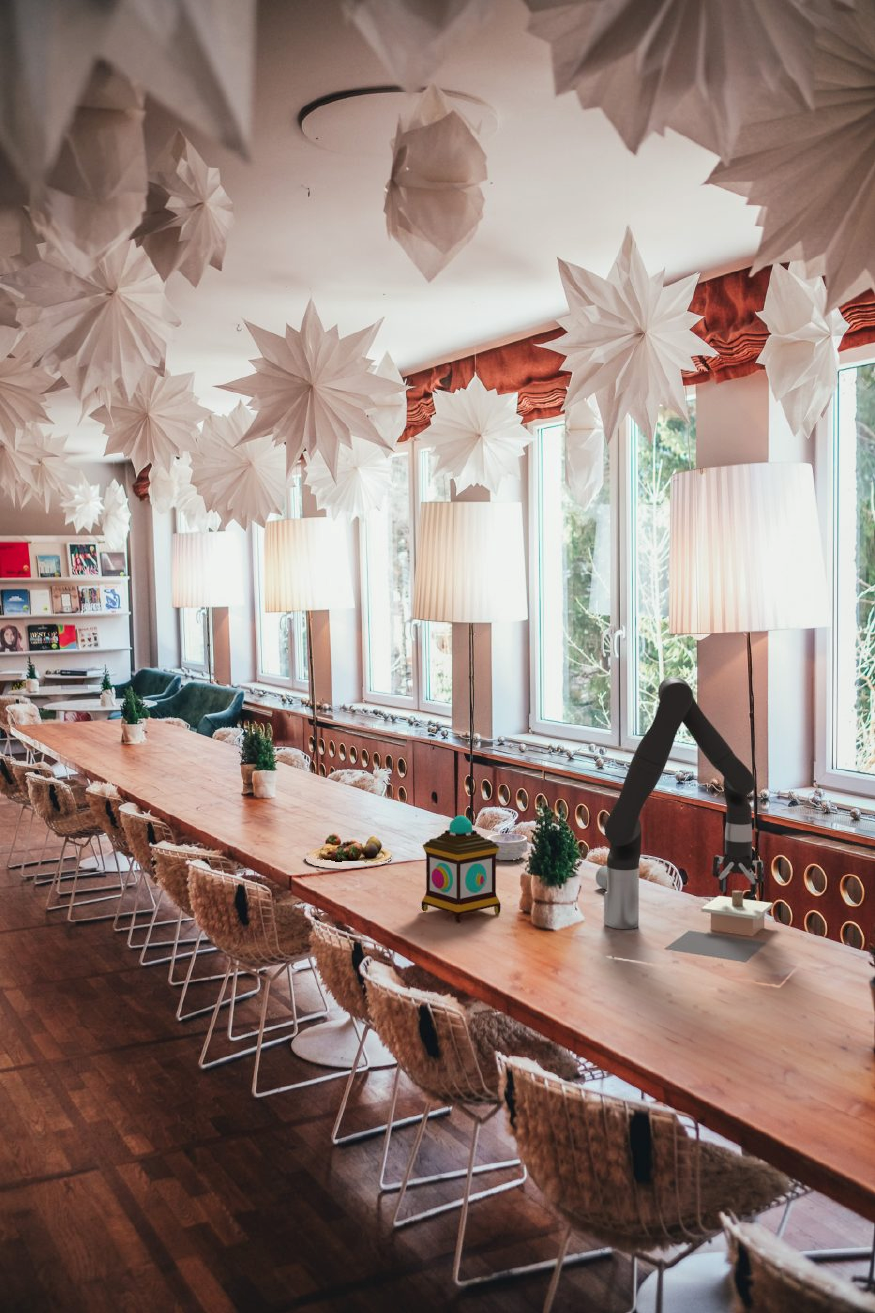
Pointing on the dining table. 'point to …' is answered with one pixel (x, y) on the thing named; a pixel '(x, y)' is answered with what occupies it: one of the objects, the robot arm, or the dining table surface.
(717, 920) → the terracotta dish
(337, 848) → the wooden plate with food
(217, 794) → the dining table surface
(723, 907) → the cream lid
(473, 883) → the decorative lantern
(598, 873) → the ceramic mug
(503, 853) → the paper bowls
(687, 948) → the rubber mat
